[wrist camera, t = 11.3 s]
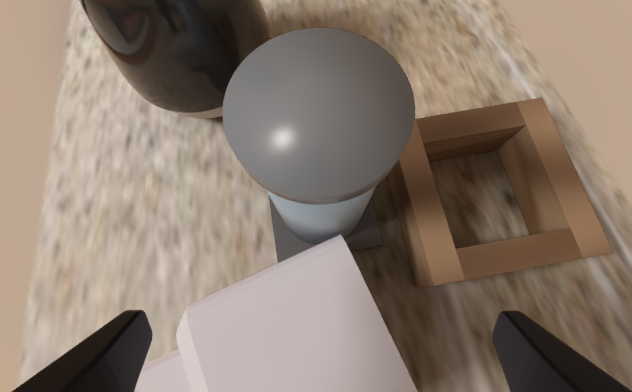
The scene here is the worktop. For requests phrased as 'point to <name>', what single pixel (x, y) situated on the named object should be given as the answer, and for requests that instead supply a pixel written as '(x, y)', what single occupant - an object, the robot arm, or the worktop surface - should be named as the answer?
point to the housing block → (527, 184)
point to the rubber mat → (290, 245)
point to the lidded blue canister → (319, 125)
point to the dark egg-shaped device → (179, 47)
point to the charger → (285, 334)
